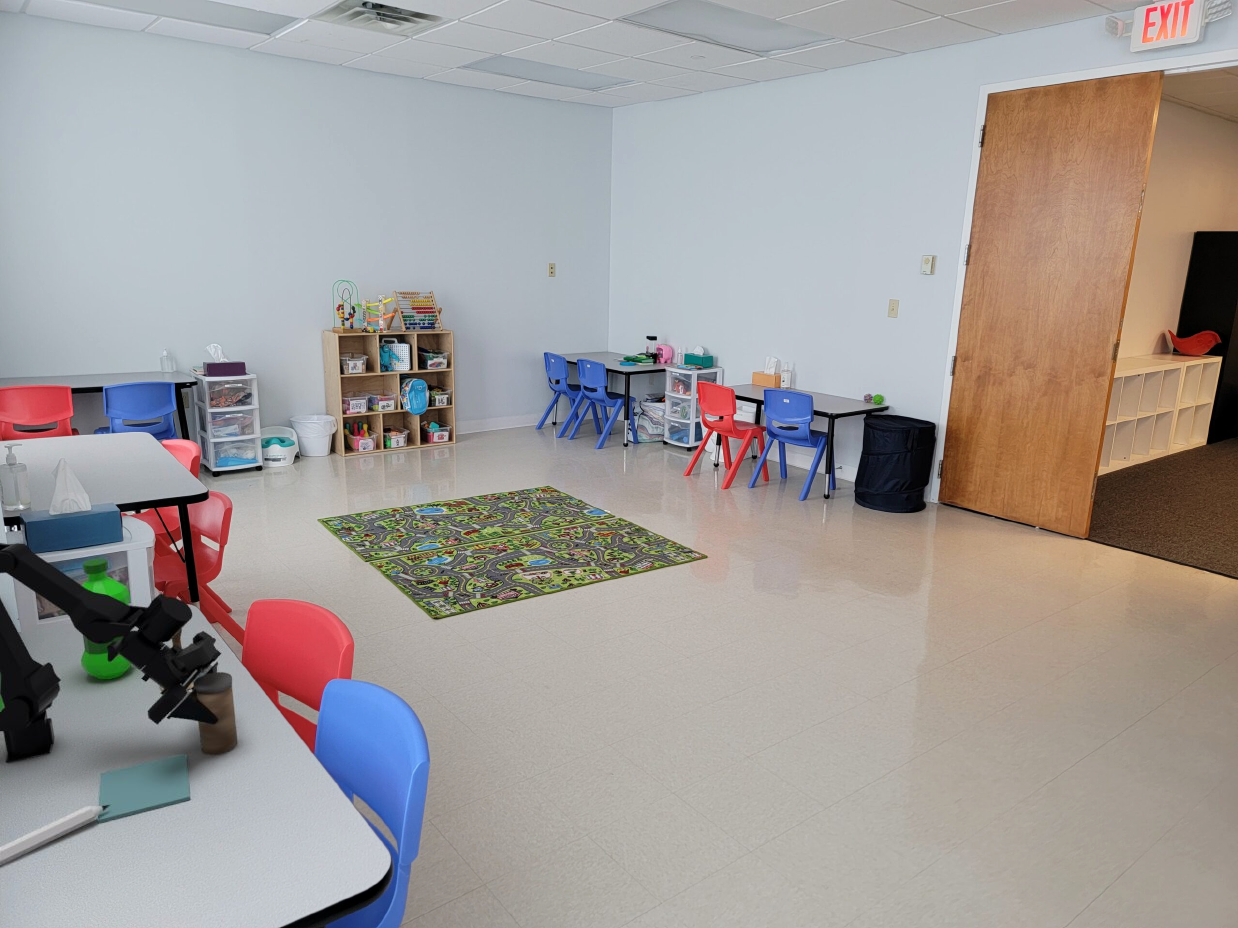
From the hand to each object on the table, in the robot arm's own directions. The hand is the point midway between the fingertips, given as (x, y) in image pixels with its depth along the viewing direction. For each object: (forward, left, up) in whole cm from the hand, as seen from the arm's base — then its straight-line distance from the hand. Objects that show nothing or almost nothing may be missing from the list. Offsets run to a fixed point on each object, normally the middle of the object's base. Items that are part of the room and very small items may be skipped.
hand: (223, 712), depth 155 cm
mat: (-13, -7, -7) cm, 17 cm away
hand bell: (-6, +30, -7) cm, 31 cm away
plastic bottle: (-19, +41, -7) cm, 45 cm away
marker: (-25, -15, -6) cm, 30 cm away
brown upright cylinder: (-1, +1, -7) cm, 7 cm away
